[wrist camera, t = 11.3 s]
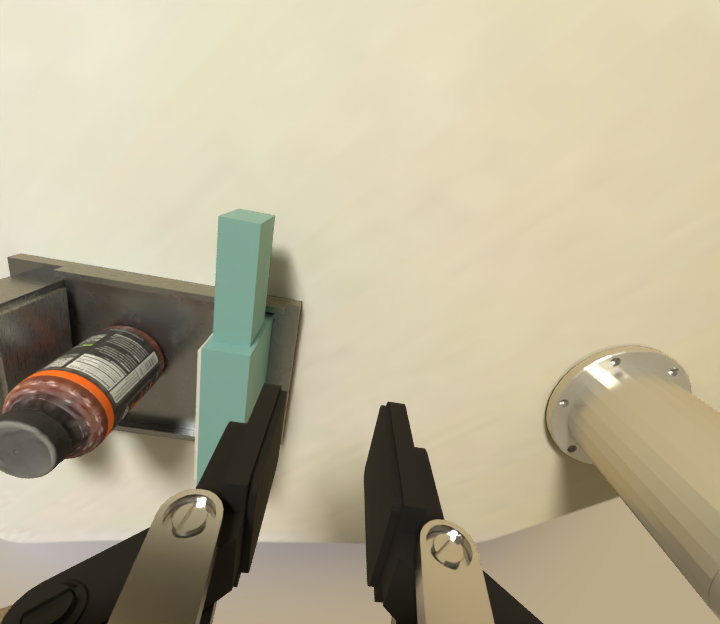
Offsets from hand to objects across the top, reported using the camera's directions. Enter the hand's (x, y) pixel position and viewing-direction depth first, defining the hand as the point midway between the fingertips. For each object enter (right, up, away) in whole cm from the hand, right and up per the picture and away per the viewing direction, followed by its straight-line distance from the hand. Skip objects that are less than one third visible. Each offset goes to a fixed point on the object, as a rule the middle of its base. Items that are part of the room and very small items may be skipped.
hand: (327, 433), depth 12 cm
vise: (-16, 0, +20) cm, 26 cm away
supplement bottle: (-18, 0, +19) cm, 26 cm away
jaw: (-8, +2, +18) cm, 20 cm away
